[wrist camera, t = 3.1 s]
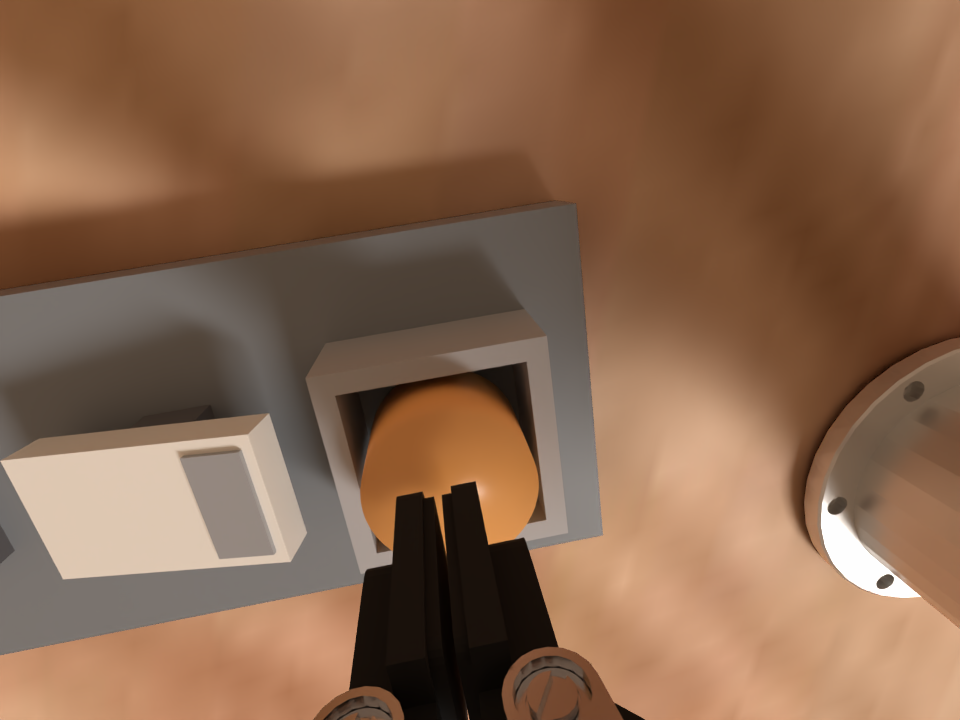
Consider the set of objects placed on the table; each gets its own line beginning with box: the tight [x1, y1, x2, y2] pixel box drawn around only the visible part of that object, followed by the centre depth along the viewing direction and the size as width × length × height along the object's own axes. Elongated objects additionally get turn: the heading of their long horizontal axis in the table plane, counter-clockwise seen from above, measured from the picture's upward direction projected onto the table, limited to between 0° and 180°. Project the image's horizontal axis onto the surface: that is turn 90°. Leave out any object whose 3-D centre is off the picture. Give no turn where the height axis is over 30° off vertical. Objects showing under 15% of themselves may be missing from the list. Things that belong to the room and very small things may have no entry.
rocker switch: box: [0, 413, 307, 579], centre depth 14 cm, size 7×4×1 cm, turn 99°
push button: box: [360, 372, 539, 556], centre depth 14 cm, size 4×4×3 cm
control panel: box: [0, 201, 603, 655], centre depth 16 cm, size 25×12×6 cm, turn 98°
